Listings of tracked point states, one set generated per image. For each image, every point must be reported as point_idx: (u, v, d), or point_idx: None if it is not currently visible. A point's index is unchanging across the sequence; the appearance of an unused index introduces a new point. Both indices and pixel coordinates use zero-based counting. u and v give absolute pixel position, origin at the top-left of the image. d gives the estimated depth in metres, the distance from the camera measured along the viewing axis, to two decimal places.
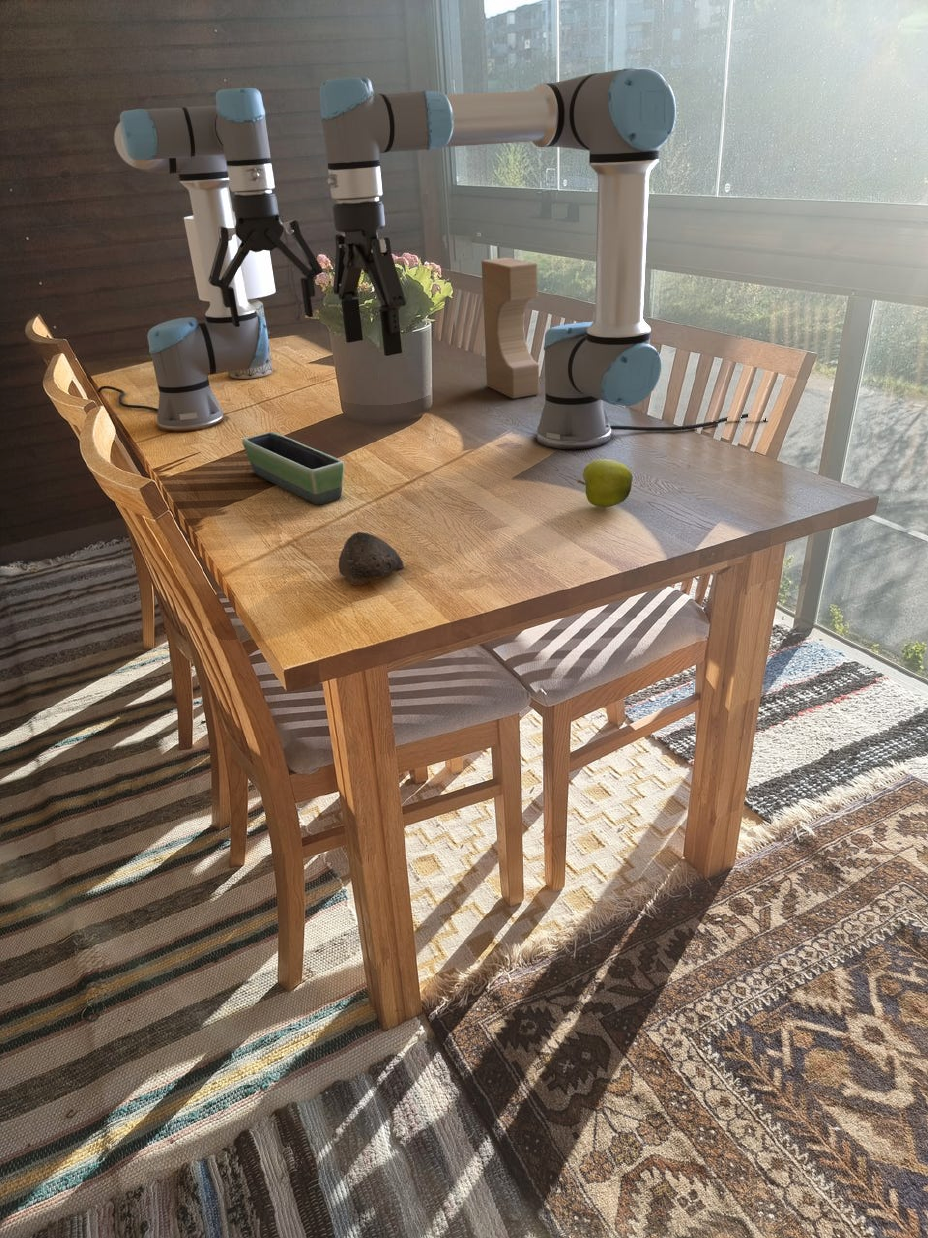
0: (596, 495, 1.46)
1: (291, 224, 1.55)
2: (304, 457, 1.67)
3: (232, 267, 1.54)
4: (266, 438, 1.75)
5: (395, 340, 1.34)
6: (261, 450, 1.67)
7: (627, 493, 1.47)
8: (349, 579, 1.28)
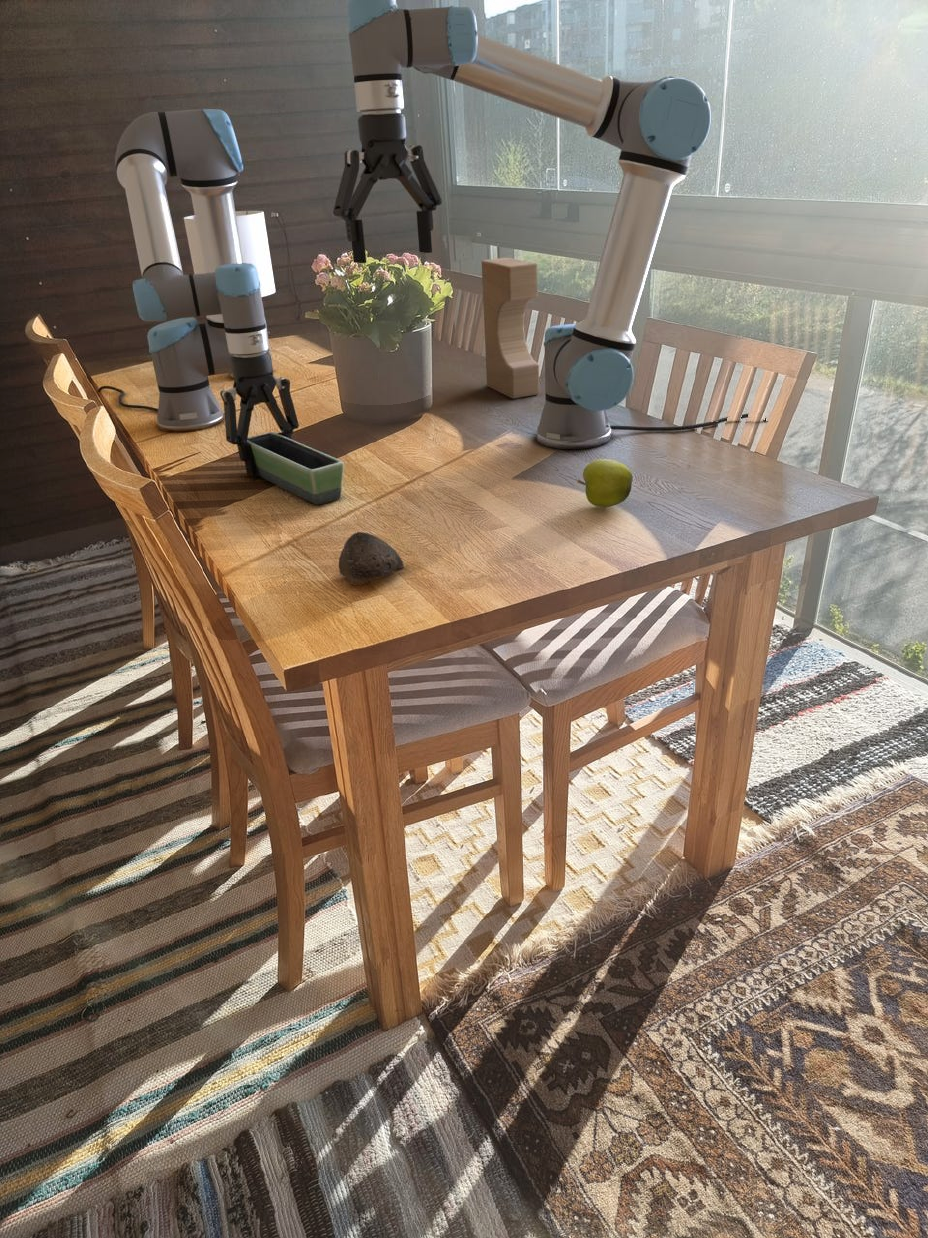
0: (596, 495, 1.46)
1: (283, 381, 1.70)
2: (303, 457, 1.67)
3: (244, 425, 1.68)
4: (266, 438, 1.75)
5: None
6: (261, 450, 1.67)
7: (627, 493, 1.47)
8: (349, 579, 1.28)
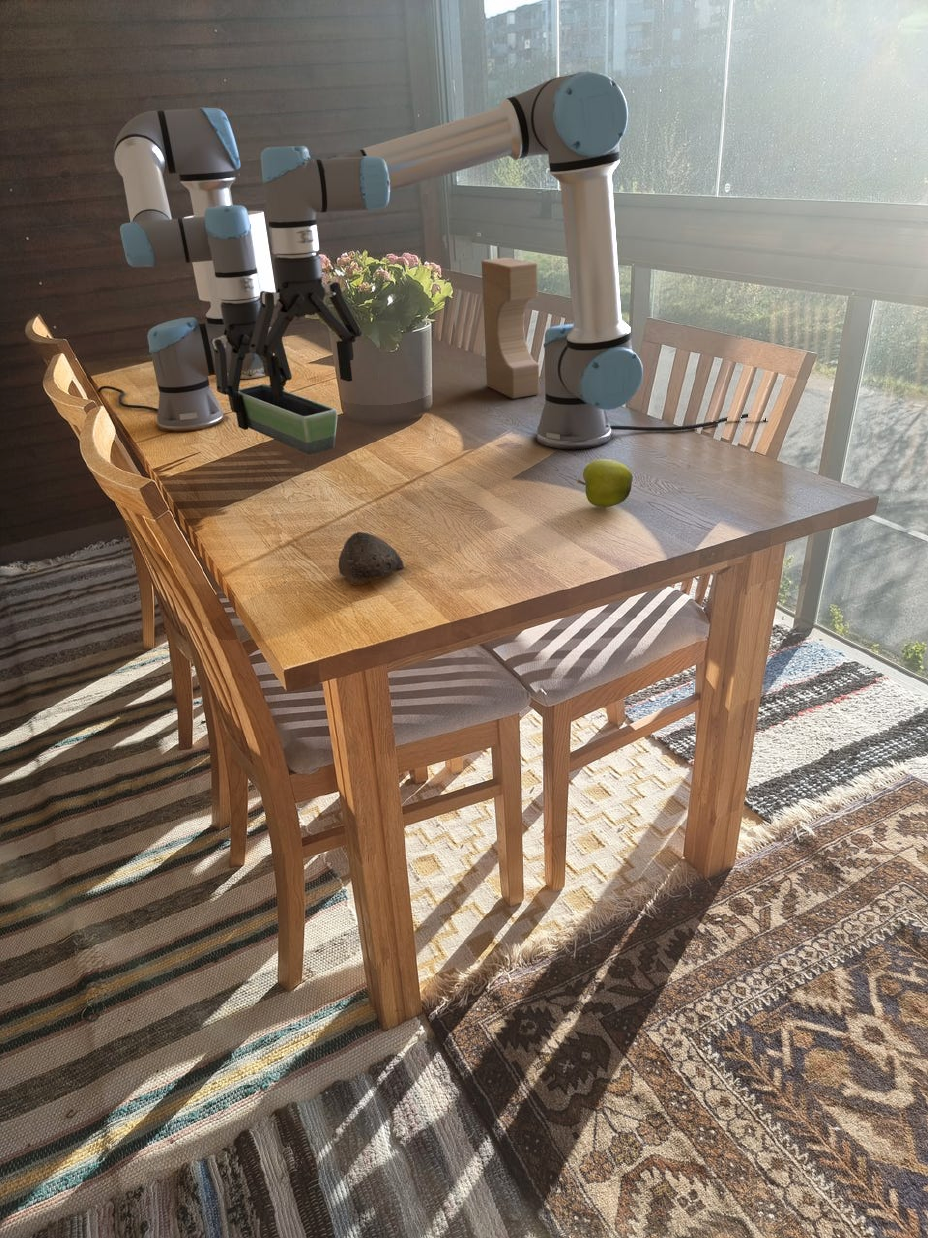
0: (596, 495, 1.46)
1: None
2: (296, 407, 1.63)
3: (235, 374, 1.63)
4: (258, 390, 1.71)
5: None
6: (253, 400, 1.62)
7: (627, 493, 1.47)
8: (349, 579, 1.28)
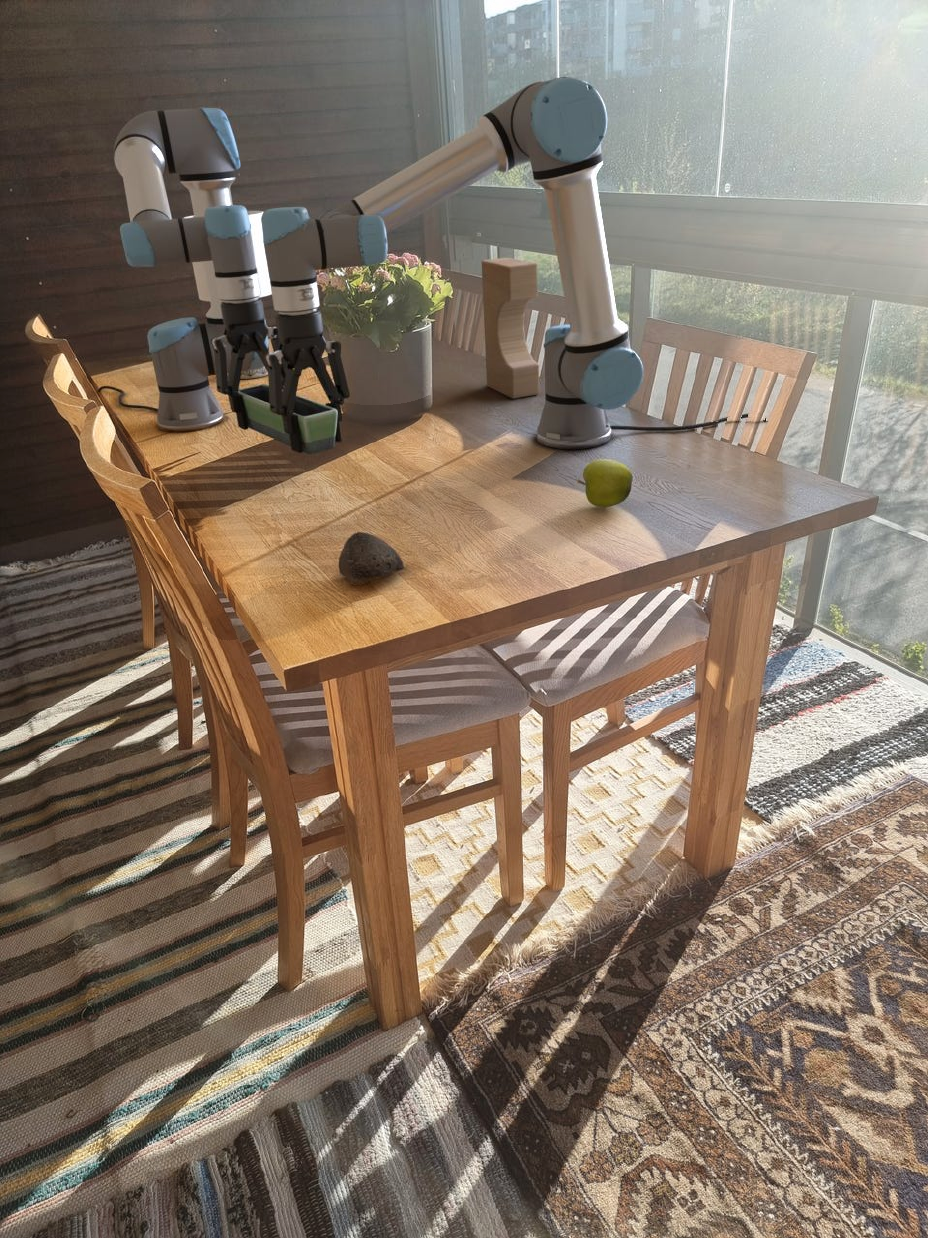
0: (596, 495, 1.46)
1: (275, 330, 1.65)
2: (296, 407, 1.63)
3: (235, 374, 1.63)
4: (258, 390, 1.71)
5: None
6: (253, 400, 1.62)
7: (627, 493, 1.47)
8: (349, 579, 1.28)
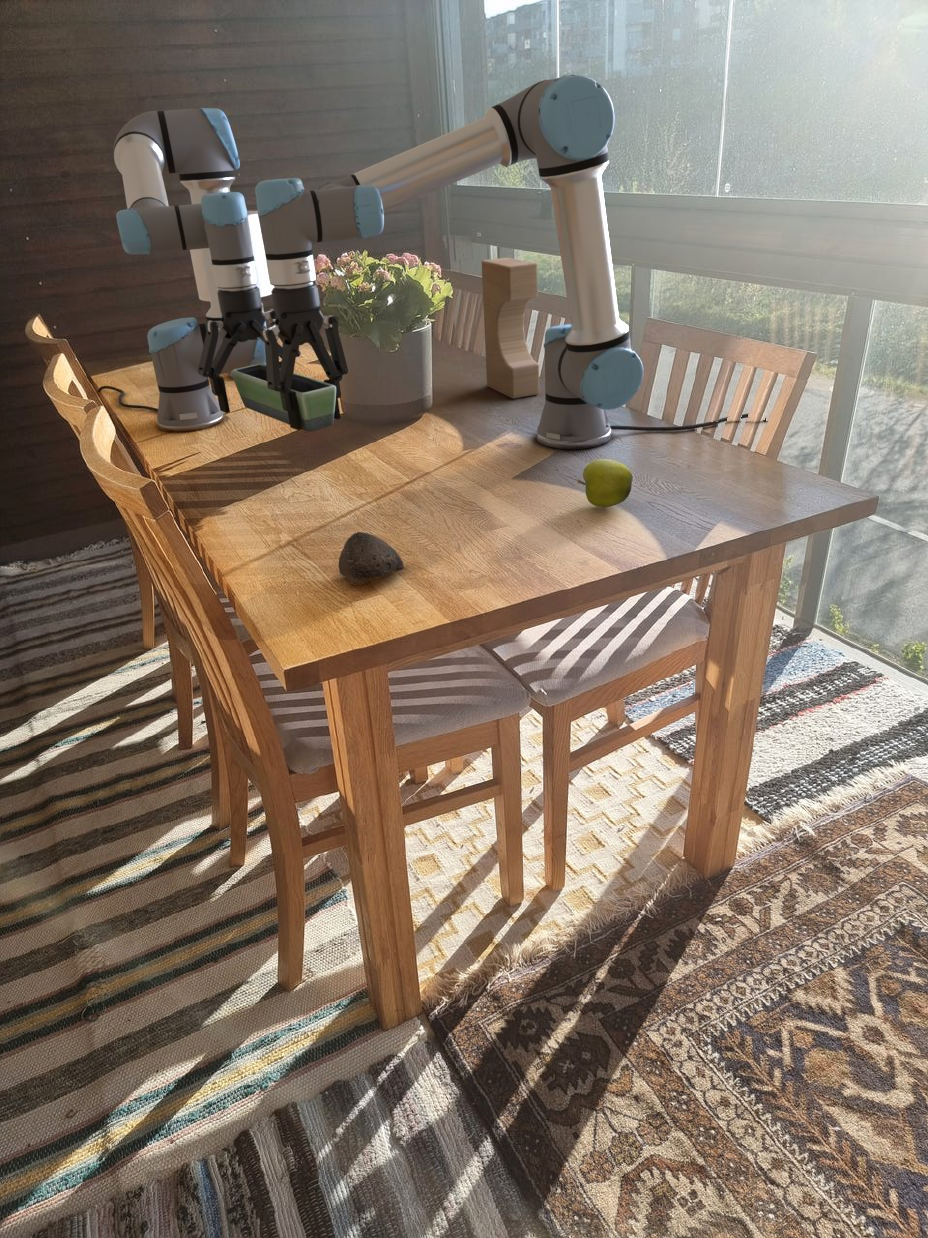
0: (596, 495, 1.46)
1: (272, 314, 1.64)
2: (295, 385, 1.61)
3: (222, 358, 1.61)
4: (256, 370, 1.69)
5: None
6: (251, 378, 1.60)
7: (627, 493, 1.47)
8: (349, 579, 1.28)
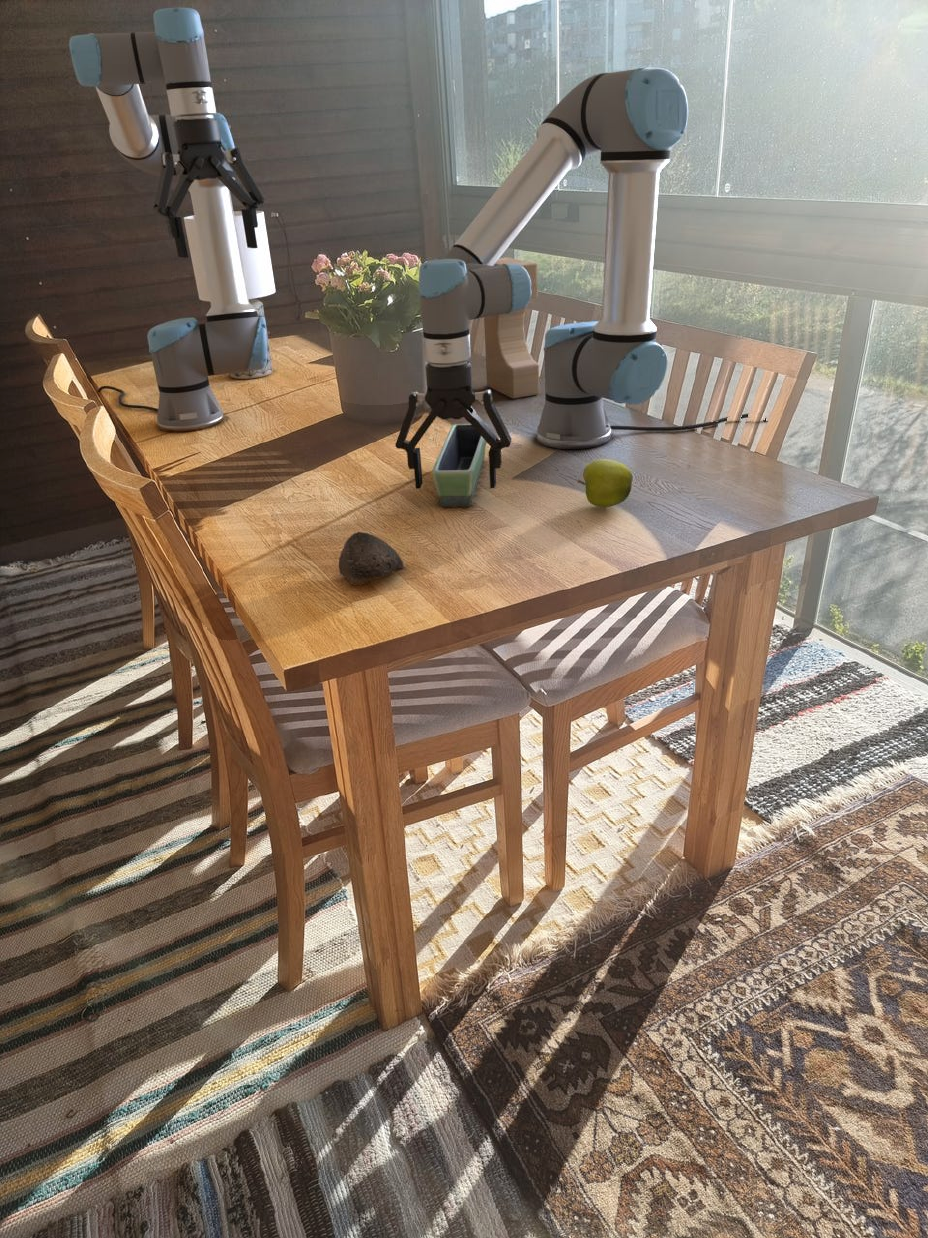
0: (596, 495, 1.46)
1: (233, 152, 1.55)
2: None
3: (178, 195, 1.52)
4: None
5: (495, 473, 1.53)
6: None
7: (627, 493, 1.47)
8: (349, 579, 1.28)
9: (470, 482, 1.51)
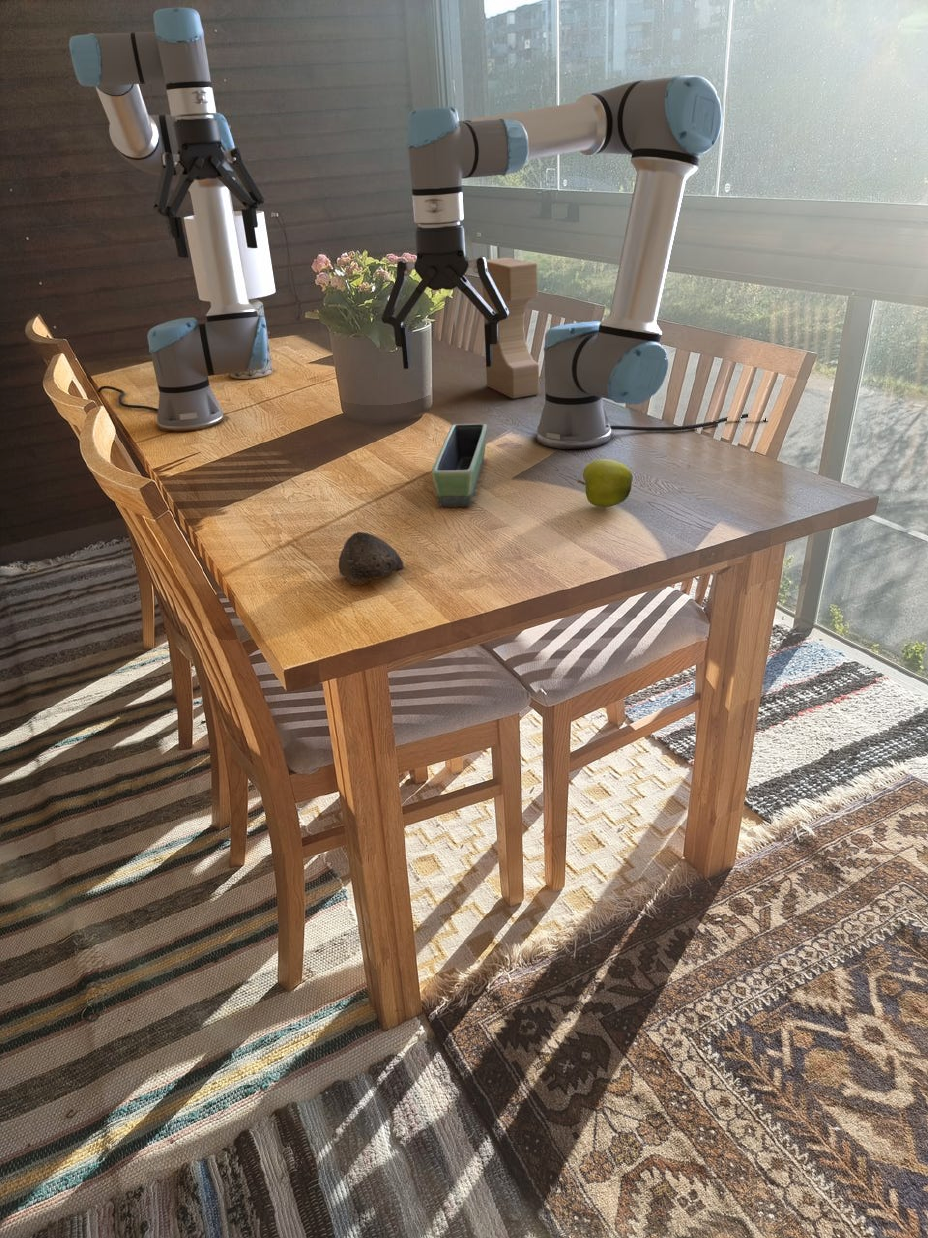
0: (596, 495, 1.46)
1: (233, 152, 1.55)
2: None
3: (178, 195, 1.52)
4: (476, 429, 1.73)
5: (491, 351, 1.43)
6: (445, 439, 1.66)
7: (627, 493, 1.47)
8: (349, 579, 1.28)
9: (469, 482, 1.51)
